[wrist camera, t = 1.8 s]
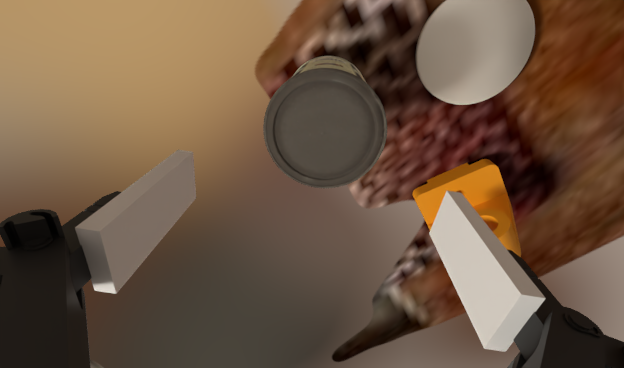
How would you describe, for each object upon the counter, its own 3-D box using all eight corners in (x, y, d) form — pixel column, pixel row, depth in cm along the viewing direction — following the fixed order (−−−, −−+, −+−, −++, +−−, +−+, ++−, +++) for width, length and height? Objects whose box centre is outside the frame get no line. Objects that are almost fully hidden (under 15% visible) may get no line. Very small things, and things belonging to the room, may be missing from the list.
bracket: (486, 153, 38) (544, 200, 28) (501, 195, 41) (559, 252, 30) (409, 188, 41) (434, 241, 31) (427, 224, 44) (456, 285, 33)
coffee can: (307, 149, 40) (294, 203, 27) (273, 77, 36) (240, 100, 23) (379, 121, 37) (402, 166, 25) (352, 39, 33) (363, 44, 21)
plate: (550, -6, 30) (558, -8, 29) (499, 109, 35) (504, 111, 34) (435, -24, 30) (439, -26, 29) (402, 94, 35) (404, 96, 34)
